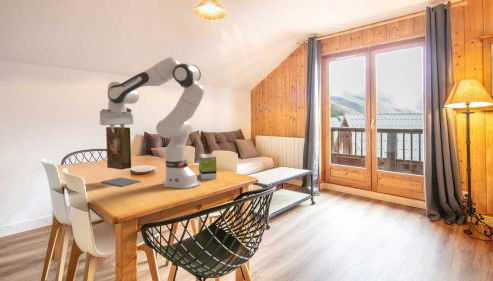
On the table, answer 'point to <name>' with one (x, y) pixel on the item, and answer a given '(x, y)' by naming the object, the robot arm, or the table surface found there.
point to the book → (118, 148)
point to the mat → (120, 181)
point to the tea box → (207, 166)
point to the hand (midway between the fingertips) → (117, 132)
